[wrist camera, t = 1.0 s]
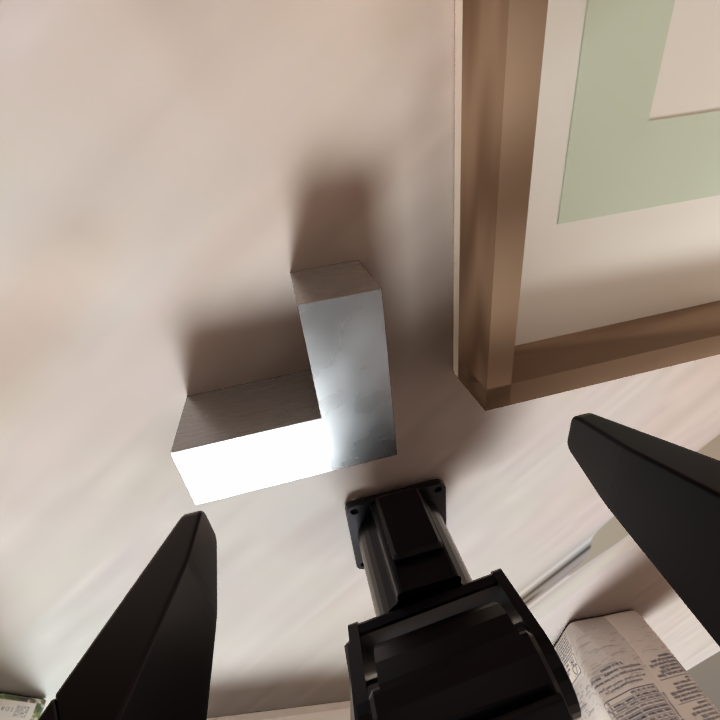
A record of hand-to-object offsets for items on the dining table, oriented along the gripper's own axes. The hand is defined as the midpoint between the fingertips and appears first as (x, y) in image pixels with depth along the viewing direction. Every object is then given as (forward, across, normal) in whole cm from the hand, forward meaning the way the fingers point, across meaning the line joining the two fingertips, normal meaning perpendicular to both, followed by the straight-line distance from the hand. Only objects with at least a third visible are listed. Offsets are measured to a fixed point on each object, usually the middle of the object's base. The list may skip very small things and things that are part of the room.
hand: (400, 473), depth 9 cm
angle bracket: (+10, +3, +2) cm, 11 cm away
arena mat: (+10, -14, -4) cm, 18 cm away
